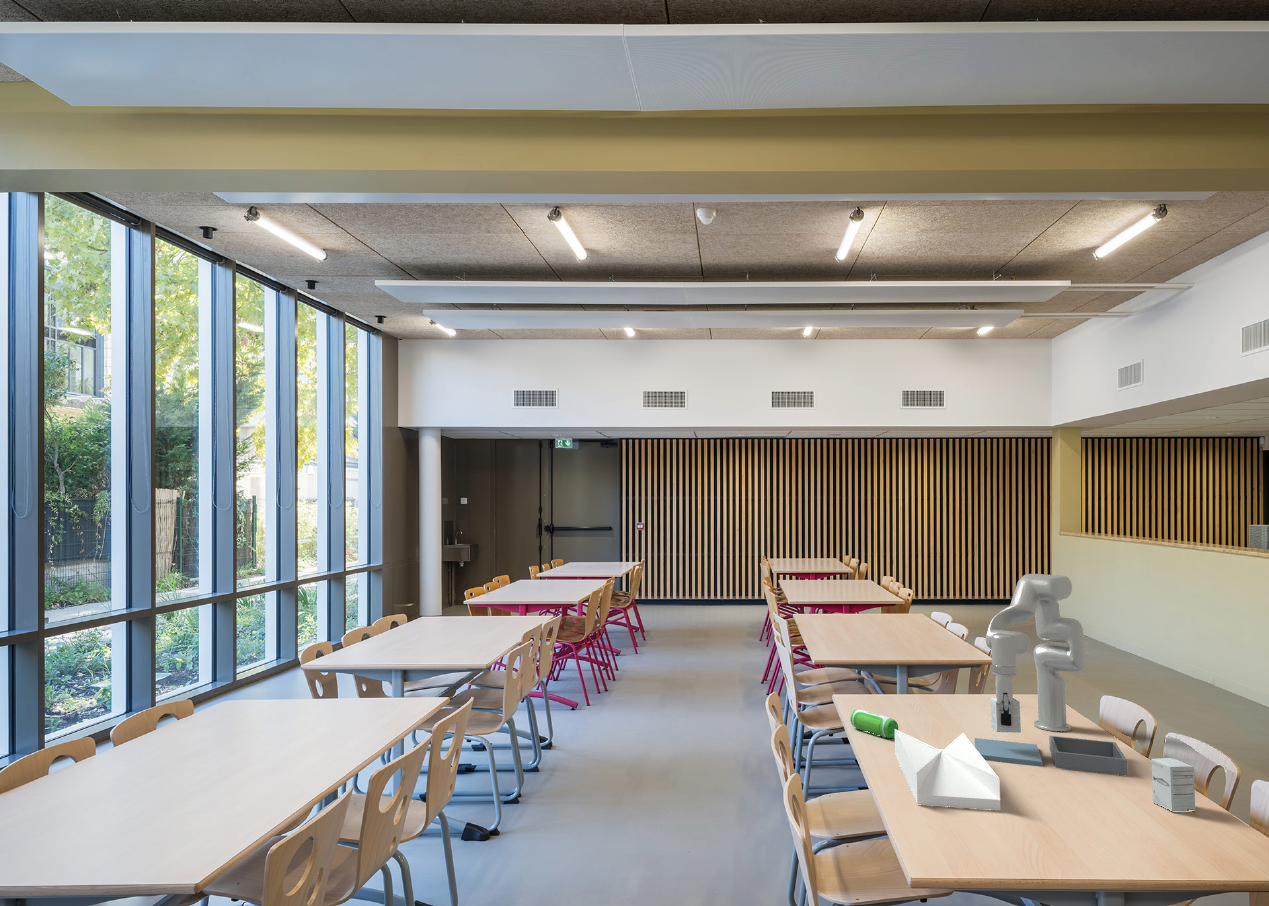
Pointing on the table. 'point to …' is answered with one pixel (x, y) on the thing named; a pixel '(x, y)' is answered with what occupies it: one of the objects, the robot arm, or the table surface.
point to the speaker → (874, 723)
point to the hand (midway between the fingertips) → (1005, 722)
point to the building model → (947, 773)
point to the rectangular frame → (1087, 755)
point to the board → (1008, 751)
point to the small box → (996, 717)
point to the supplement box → (1173, 784)
